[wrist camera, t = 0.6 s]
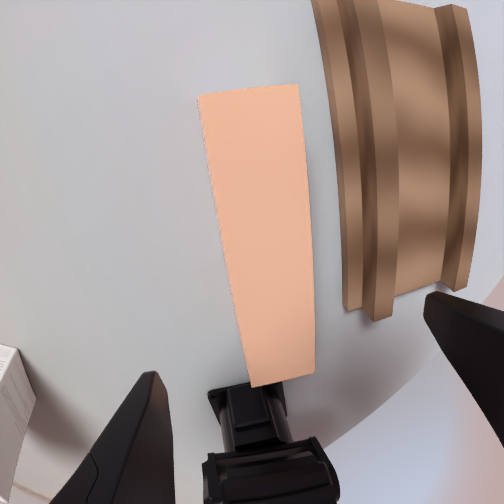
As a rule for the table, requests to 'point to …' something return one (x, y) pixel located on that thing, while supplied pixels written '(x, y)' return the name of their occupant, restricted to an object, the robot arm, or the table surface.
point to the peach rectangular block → (264, 224)
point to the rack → (402, 145)
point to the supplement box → (12, 414)
